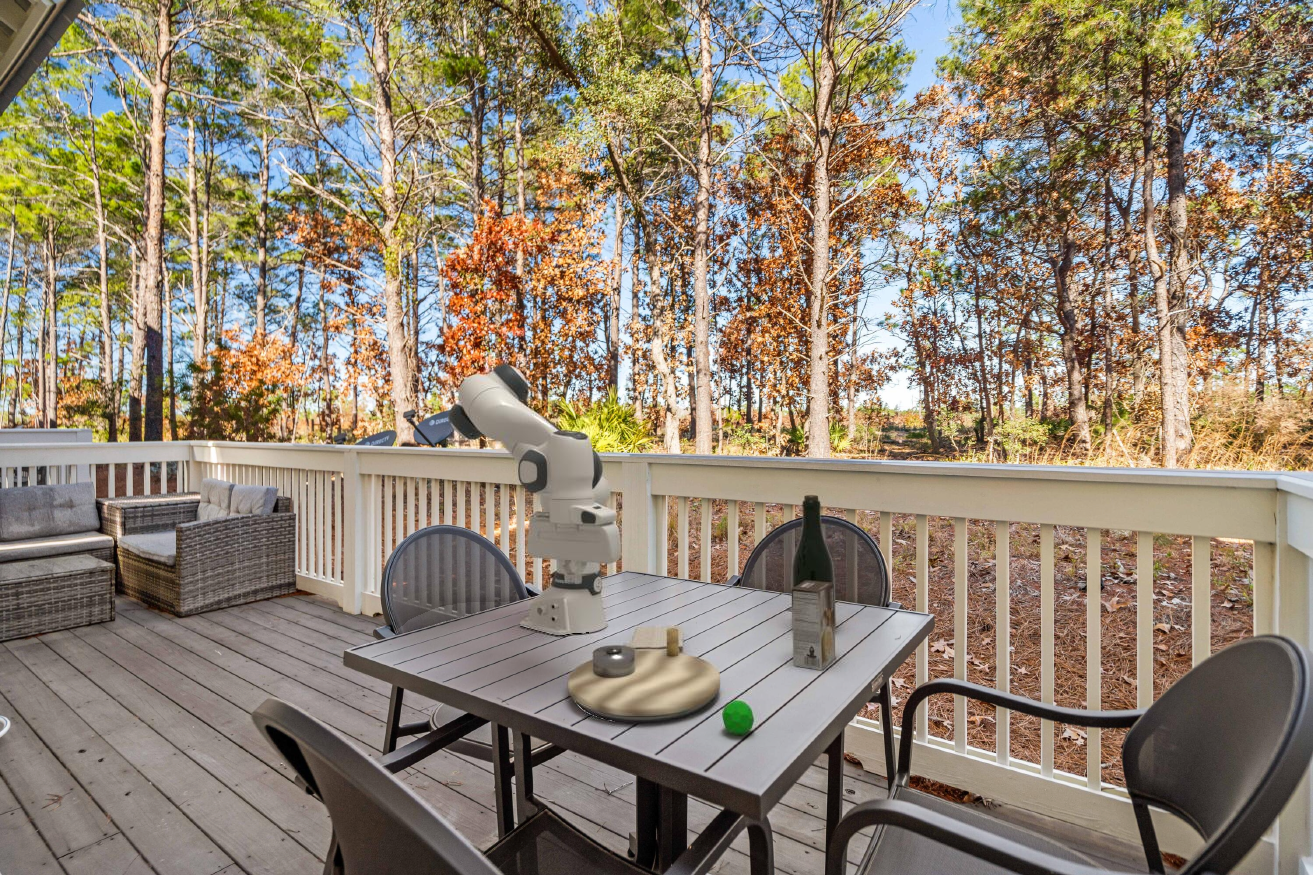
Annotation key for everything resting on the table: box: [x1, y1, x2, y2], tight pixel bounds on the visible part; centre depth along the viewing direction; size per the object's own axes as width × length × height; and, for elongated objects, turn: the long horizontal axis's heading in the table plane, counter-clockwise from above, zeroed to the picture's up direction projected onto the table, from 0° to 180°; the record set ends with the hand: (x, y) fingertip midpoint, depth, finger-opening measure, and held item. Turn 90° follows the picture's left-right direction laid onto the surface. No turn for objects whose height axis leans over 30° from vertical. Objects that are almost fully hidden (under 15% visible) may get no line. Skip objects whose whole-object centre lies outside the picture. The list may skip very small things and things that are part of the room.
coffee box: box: [791, 580, 836, 671], centre depth 131 cm, size 9×6×16 cm
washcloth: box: [631, 625, 684, 654], centre depth 144 cm, size 12×18×3 cm, turn 179°
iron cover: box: [592, 644, 635, 678], centre depth 119 cm, size 8×8×4 cm
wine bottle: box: [791, 494, 837, 631], centre depth 153 cm, size 10×10×33 cm
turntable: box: [567, 628, 721, 716], centre depth 117 cm, size 28×28×6 cm
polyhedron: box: [721, 700, 755, 736], centre depth 100 cm, size 5×5×5 cm
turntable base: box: [575, 642, 716, 725], centre depth 117 cm, size 26×26×4 cm
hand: (573, 582), depth 124 cm, fingers closed
